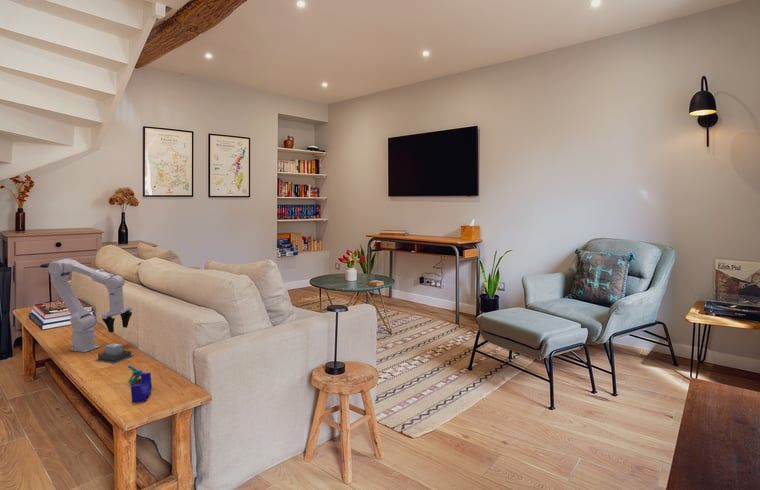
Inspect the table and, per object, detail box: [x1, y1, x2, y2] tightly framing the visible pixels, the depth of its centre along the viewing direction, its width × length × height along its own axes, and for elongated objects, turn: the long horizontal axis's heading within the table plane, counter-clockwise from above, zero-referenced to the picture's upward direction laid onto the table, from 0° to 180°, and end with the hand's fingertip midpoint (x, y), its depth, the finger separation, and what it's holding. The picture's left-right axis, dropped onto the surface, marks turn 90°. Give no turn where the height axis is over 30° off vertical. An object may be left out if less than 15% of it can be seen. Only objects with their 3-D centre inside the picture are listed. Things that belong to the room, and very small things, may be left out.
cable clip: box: [130, 372, 153, 403], centre depth 163 cm, size 12×4×6 cm, turn 11°
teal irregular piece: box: [127, 364, 144, 386], centre depth 173 cm, size 11×6×10 cm
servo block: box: [104, 342, 124, 356], centre depth 199 cm, size 6×4×6 cm, turn 71°
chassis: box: [94, 349, 135, 365], centre depth 199 cm, size 11×10×2 cm
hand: (118, 329), depth 210 cm, fingers open, 7 cm apart
